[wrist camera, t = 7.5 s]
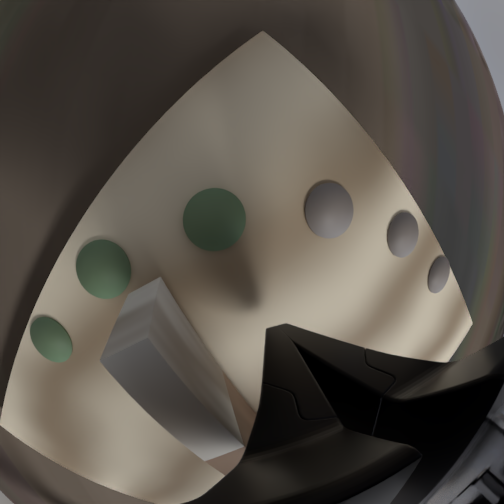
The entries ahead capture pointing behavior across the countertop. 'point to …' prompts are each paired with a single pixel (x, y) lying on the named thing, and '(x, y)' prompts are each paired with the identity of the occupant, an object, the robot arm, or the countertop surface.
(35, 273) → the countertop surface
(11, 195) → the countertop surface
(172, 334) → the peg
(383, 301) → the board
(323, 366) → the robot arm
